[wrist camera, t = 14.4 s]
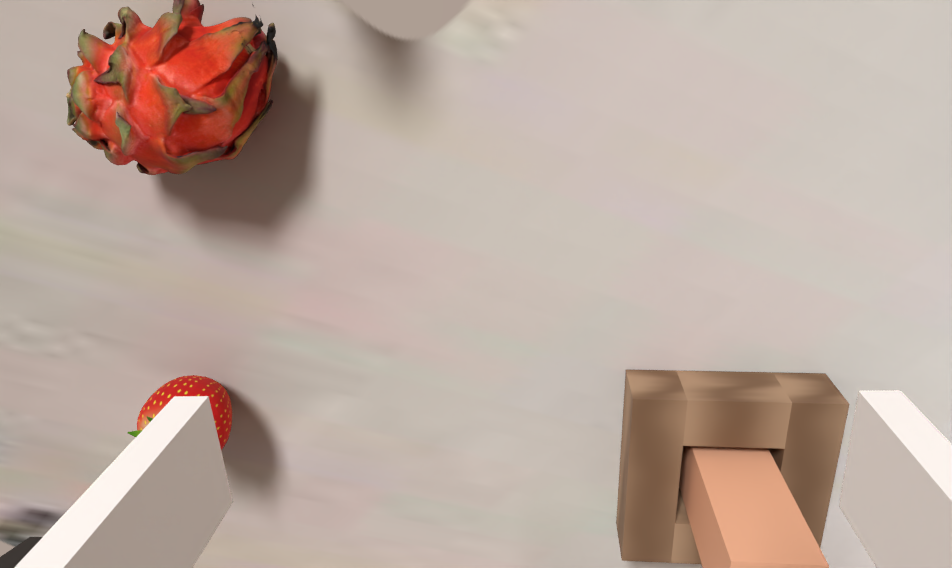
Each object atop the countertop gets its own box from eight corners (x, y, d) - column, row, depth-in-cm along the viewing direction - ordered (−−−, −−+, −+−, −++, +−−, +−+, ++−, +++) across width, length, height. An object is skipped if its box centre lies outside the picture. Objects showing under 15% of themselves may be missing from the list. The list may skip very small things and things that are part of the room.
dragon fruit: (123, 115, 41) (298, 25, 40) (154, 235, 39) (343, 142, 37) (1, 30, 33) (215, -85, 32) (29, 174, 31) (264, 54, 29)
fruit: (164, 386, 46) (92, 457, 39) (206, 337, 45) (139, 403, 37) (227, 434, 47) (169, 513, 40) (270, 389, 46) (218, 462, 38)
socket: (825, 373, 42) (849, 404, 39) (796, 529, 46) (815, 569, 43) (625, 369, 43) (632, 399, 40) (616, 522, 47) (621, 560, 44)
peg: (755, 423, 44) (828, 565, 32) (746, 482, 45) (813, 635, 34) (683, 422, 44) (731, 561, 33) (677, 479, 46) (721, 630, 35)
